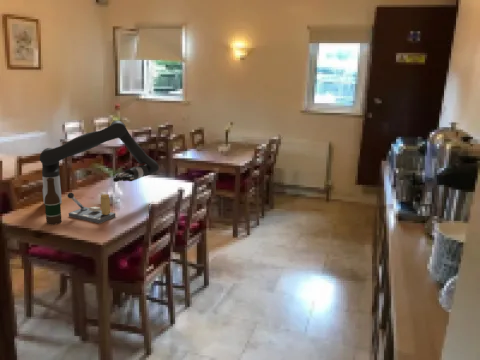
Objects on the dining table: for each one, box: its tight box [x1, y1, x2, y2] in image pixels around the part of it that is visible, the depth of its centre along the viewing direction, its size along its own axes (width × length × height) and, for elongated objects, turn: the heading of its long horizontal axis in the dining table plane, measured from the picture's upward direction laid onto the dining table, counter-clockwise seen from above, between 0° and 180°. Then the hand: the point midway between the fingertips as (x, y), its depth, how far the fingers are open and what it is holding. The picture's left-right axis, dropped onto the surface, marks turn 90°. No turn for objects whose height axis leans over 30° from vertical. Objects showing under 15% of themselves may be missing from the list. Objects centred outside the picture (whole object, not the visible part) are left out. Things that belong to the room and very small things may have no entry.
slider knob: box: [100, 193, 111, 215], centre depth 221 cm, size 4×4×11 cm
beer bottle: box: [44, 178, 62, 225], centre depth 212 cm, size 8×8×24 cm
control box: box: [68, 206, 116, 224], centre depth 224 cm, size 22×12×2 cm, turn 66°
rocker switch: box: [88, 206, 101, 212], centre depth 226 cm, size 4×4×2 cm
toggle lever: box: [67, 192, 85, 209], centre depth 223 cm, size 3×3×14 cm
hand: (114, 180), depth 227 cm, fingers closed
